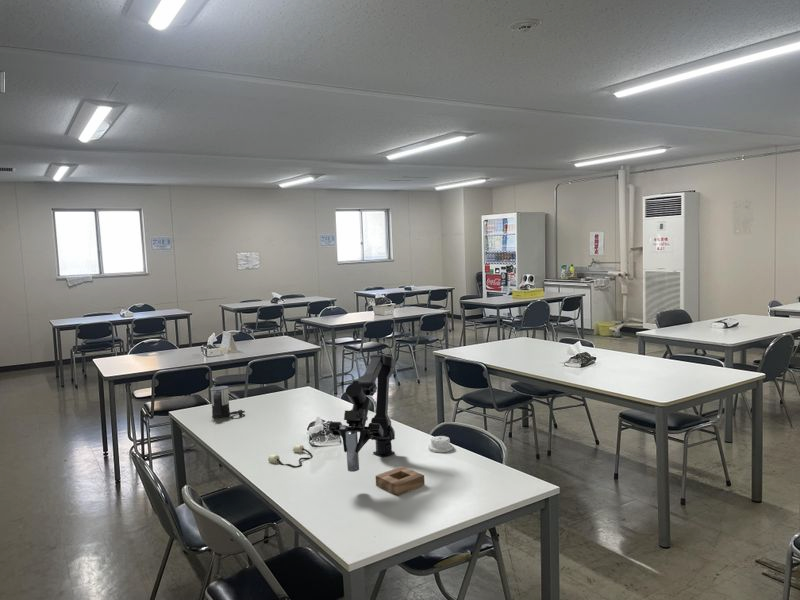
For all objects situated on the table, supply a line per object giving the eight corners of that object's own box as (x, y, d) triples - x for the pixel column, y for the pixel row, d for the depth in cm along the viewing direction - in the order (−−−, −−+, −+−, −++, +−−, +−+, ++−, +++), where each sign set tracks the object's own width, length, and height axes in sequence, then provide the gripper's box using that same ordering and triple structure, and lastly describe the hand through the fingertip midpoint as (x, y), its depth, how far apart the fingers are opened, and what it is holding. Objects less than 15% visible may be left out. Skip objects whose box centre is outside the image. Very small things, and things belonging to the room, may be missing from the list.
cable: (324, 457, 233) (323, 448, 233) (294, 470, 220) (293, 462, 220) (297, 450, 242) (296, 442, 242) (267, 463, 229) (266, 455, 229)
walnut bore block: (376, 485, 201) (375, 475, 201) (402, 475, 208) (402, 466, 208) (397, 495, 192) (397, 485, 191) (424, 484, 199) (424, 475, 199)
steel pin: (345, 469, 199) (343, 432, 198) (354, 466, 201) (352, 429, 200) (351, 472, 196) (349, 435, 194) (361, 469, 198) (359, 432, 197)
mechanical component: (425, 446, 238) (433, 454, 229) (424, 436, 238) (432, 443, 228) (447, 443, 241) (456, 451, 231) (447, 433, 241) (456, 440, 231)
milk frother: (211, 414, 303) (208, 387, 302) (241, 410, 310) (239, 383, 308) (214, 421, 290) (212, 392, 289) (246, 416, 297) (244, 388, 296)
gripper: (328, 399, 203) (317, 440, 193) (379, 400, 198) (370, 442, 188) (338, 414, 211) (328, 454, 201) (387, 416, 206) (379, 457, 196)
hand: (350, 452), depth 196 cm, fingers closed on steel pin, 4 cm apart
